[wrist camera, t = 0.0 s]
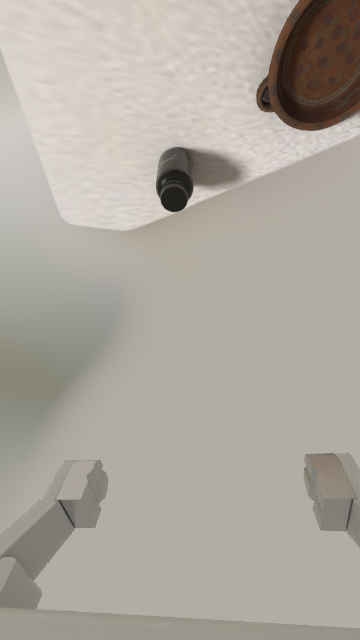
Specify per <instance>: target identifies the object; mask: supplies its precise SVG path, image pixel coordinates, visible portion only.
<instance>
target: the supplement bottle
mask: <svg viewBox="0 0 360 640" xmlns="http://www.w3.org/2000/svg"><path fill="white" fill-rule="evenodd" d="M156 191H157V194H158V196H159V198H160V200H161V204H162V205H163V207H164V208H165V209H166V210H168V211H171V212H177V211H181V210H182V209H184V208H185V206H186V205H187V201H188V200H189V199H190V197H191V196H192V193H193V163H192V159H191V157H190V156H189V154H188V153H187V152H186V151H184V150H182V149H180V148H171V149H169V150H167V151H165V152H164V153H163V154H162V156H161V157H160V160H159V164H158V172H157V180H156Z"/></svg>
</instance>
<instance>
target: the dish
mask: <svg viewBox="0 0 360 640" xmlns="http://www.w3.org/2000/svg"><path fill="white" fill-rule="evenodd" d="M267 88H268V91H269V99H270V103H269V102H265V101H264V100H263V94H264V92H265V90H266V89H267ZM256 99H257V105H258V107H259V108H260V109H261V110H262V111H265V112H275V113H276V114H277V115H278V117H279V118H280V119H281V120H282V121H283V122H284V123H286V124H287V125H289V126H291V127H293V128H296V129H300V130H307V131H315V130H321V129H325V128H328V127H331V126H333V125H335V124H338V123H340V122H342V121H343V120H345V119H347V118H348V117H350V116H351V115H353V114H354V113H356V112H357V111H358V110H360V0H299V2H298V3H297V5H296V6H295V8H294V9H293V11H292V12H291V14H290V16H289V17H288V19H287V21H286V23H285V25H284V27H283V29H282V31H281V33H280V36H279V38H278V41H277V43H276V46H275V49H274V53H273V56H272V60H271V64H270V69H269V75H268V76H267V77H266V78H265V79H264V80H263V81H262V83H261V84H260V86H259V88H258V90H257V95H256Z"/></svg>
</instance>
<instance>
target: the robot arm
mask: <svg viewBox="0 0 360 640" xmlns="http://www.w3.org/2000/svg"><path fill="white" fill-rule="evenodd" d="M305 463H306V467H305V468H304V480H305V485H306V489H307V492H308V495H309V497H310V498H311V499H312V500H313V501H314V506H313V510H314V513H315V516H316V519H317V522H318V525H319V528H320V530H326V531H347V534H348V535H349V536H350V537H351V538H352V539H353V541H354V542H356V544H357V545H358V546H359V547H360V469H359V467H358V466H357V464H356V462H355V460H354V458H353V456H352V455H351V454H350V453H339V454H334V453H325V454H306V455H305ZM102 466H103V465H102V463H101V461H100V460H67V461H64V462H63V463H62V464H61V466H60V468H59V470H58V472H57V473H56V475H55V477H54V479H53V481H52V483H51V485H50V487H49V489H48V491H47V493H46V495H45V496H44V498H43V500H40V501H38V502H37V503H36V504H35V505H34V506H32V507H31V508H30V509H29V510H28V511H27V512H26V513H25V514H23V516H21V517H20V518H19V519H18V520H17V521H16V522H15V523H14V524H12V525H11V526H10V527H9V528H8V529H7V530H6V531H4V532H3V533H2V534H1V535H0V640H360V629H358V628H341V627H324V626H308V625H290V624H274V623H258V622H257V623H256V622H241V621H225V620H209V619H208V620H207V619H191V618H175V617H159V616H141V615H126V614H108V613H92V612H76V611H59V610H42V609H37V606H38V603H39V601H40V598H41V596H42V592H41V589H40V588H39V587H38V586H37V584H36V583H35V582H34V580H35V578H36V577H37V576H38V575H39V573H40V572H41V571H42V570H43V568H44V567H45V566H46V564H47V563H48V562H49V561H50V559H51V558H52V557H53V556H54V555H55V553H56V552H57V551H58V550H59V548H60V547H61V546H62V545H63V543H64V542H65V541H66V540H67V538H68V537H69V536H70V535H71V534H72V532H73V531H74V530H75V529H74V528H95V526H96V523H97V520H98V517H99V514H100V510H101V508H100V504H99V503H100V502H101V501H102V500H103V499H104V498H105V495H106V491H107V486H108V478H107V475H106V472H104V471H103V470H102Z"/></svg>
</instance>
